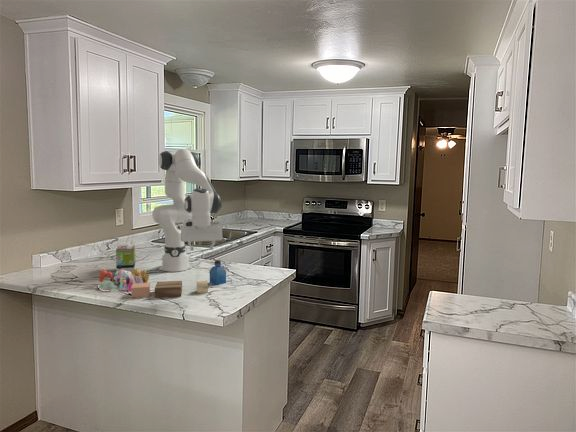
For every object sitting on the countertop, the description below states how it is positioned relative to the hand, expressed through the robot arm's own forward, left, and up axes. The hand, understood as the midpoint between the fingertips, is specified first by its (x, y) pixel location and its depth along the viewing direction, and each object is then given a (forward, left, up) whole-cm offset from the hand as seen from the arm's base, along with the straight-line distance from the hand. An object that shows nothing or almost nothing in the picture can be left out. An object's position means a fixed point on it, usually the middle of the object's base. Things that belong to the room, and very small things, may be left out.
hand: (201, 249), depth 218 cm
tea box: (-53, -41, -21) cm, 70 cm away
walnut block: (0, -16, -21) cm, 27 cm away
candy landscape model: (-20, -39, -22) cm, 48 cm away
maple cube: (0, 0, -21) cm, 21 cm away
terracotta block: (-1, -29, -21) cm, 36 cm away
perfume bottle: (-15, +9, -21) cm, 28 cm away
